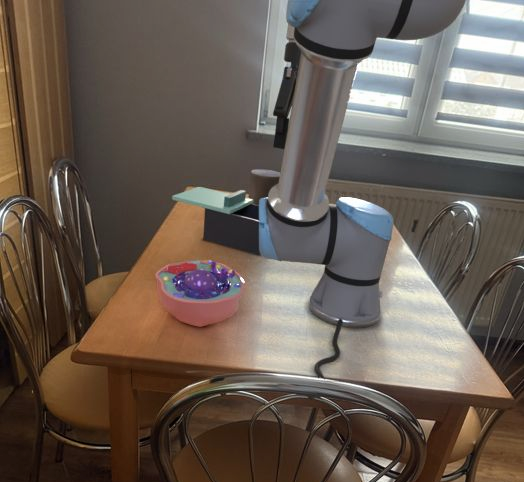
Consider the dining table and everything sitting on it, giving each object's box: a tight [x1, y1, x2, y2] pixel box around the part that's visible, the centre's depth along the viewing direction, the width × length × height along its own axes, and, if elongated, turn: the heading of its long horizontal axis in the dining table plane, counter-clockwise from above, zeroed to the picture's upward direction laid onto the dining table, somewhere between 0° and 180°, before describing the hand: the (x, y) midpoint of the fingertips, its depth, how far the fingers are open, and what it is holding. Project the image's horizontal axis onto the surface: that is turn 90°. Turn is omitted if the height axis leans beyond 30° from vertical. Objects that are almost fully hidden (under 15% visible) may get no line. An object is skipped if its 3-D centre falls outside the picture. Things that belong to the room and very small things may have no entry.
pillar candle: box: [247, 169, 280, 205], centre depth 159 cm, size 10×10×15 cm
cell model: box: [154, 259, 246, 328], centre depth 97 cm, size 17×20×11 cm
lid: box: [171, 186, 253, 214], centre depth 138 cm, size 14×17×4 cm
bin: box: [202, 204, 261, 256], centre depth 139 cm, size 14×17×9 cm
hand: (289, 145), depth 123 cm, fingers open, 13 cm apart
